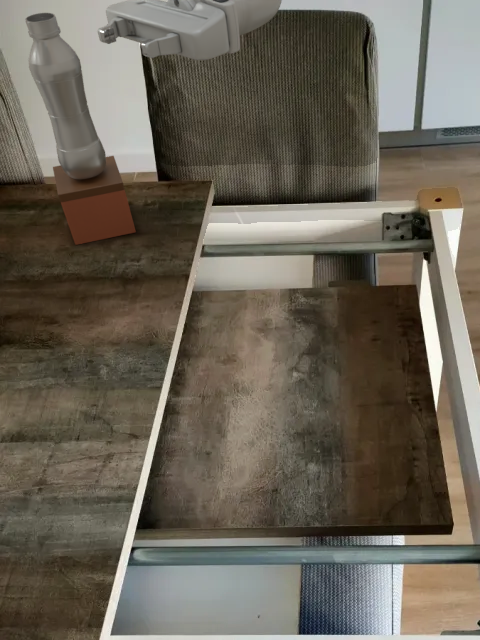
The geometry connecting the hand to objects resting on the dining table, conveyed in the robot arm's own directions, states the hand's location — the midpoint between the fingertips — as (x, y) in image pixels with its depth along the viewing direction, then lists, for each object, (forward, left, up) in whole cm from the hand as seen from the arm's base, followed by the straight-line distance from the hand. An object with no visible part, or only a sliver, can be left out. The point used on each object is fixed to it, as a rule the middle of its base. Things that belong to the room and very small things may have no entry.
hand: (122, 43), depth 90 cm
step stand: (-10, -5, -22) cm, 25 cm away
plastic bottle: (-10, -5, -14) cm, 18 cm away
